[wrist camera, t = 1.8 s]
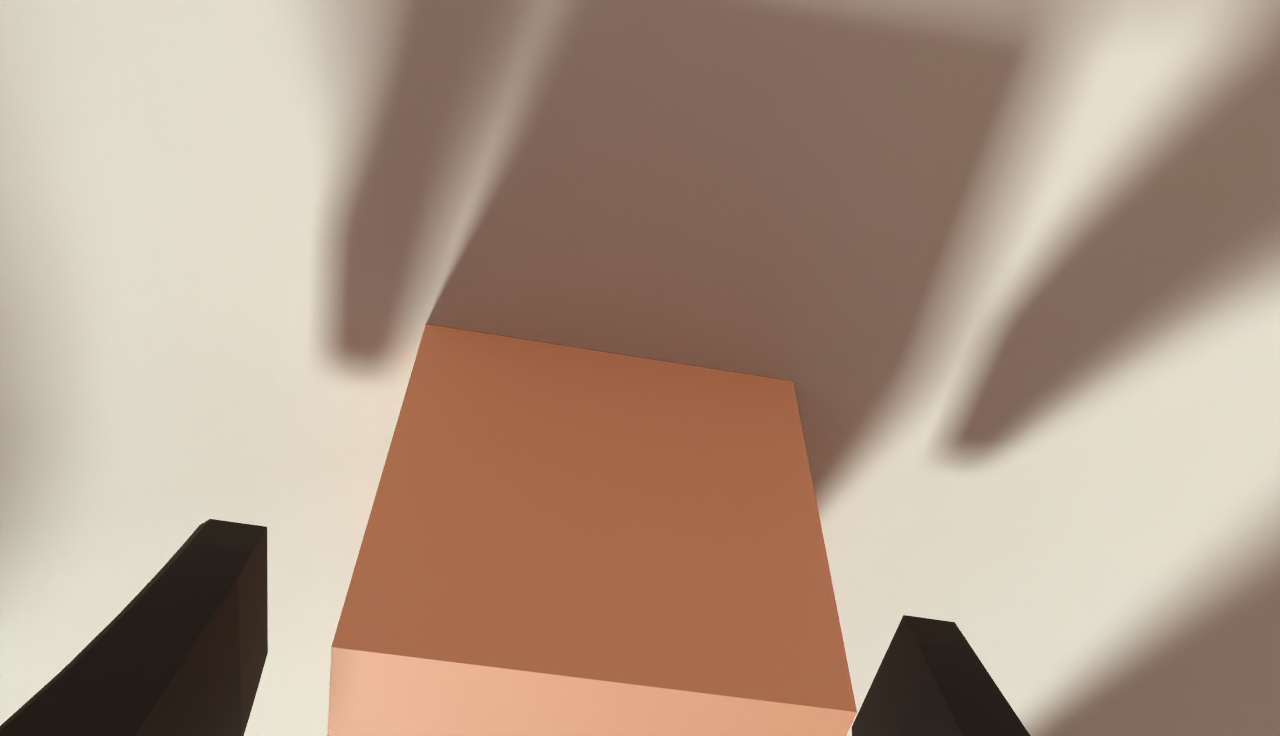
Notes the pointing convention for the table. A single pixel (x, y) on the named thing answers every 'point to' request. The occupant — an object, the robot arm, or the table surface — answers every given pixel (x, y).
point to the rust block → (589, 555)
